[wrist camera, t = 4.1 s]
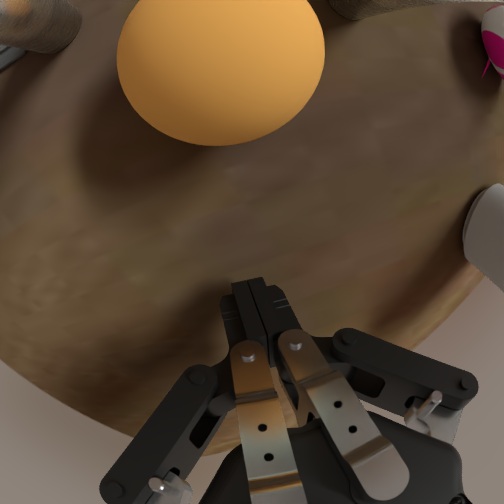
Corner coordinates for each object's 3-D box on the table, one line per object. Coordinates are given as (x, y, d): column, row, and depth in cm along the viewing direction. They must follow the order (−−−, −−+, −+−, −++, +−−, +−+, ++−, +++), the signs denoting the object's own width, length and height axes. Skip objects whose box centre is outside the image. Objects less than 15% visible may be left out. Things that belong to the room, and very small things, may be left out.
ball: (65, 7, 2) (142, 207, 8) (393, -6, 3) (334, 171, 8) (117, -22, 5) (142, 100, 10) (288, -38, 5) (276, 80, 11)
